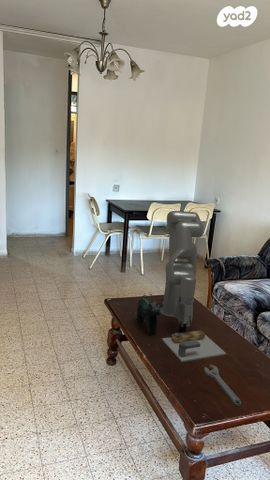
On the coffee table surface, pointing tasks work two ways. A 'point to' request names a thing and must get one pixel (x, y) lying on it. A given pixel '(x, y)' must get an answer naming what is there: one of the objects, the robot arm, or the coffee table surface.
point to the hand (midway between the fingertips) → (182, 332)
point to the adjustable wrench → (222, 383)
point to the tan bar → (188, 336)
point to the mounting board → (194, 349)
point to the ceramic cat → (148, 314)
